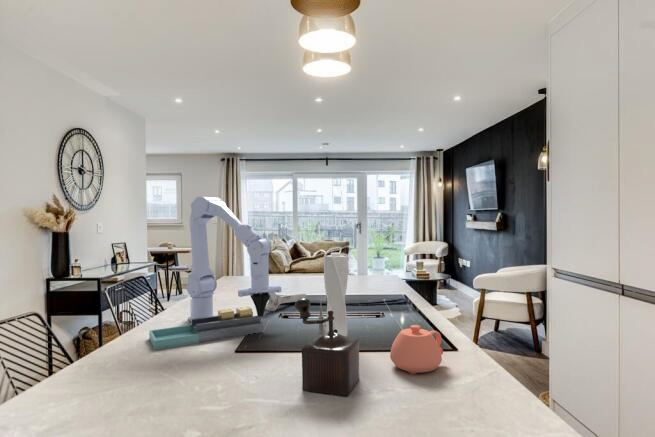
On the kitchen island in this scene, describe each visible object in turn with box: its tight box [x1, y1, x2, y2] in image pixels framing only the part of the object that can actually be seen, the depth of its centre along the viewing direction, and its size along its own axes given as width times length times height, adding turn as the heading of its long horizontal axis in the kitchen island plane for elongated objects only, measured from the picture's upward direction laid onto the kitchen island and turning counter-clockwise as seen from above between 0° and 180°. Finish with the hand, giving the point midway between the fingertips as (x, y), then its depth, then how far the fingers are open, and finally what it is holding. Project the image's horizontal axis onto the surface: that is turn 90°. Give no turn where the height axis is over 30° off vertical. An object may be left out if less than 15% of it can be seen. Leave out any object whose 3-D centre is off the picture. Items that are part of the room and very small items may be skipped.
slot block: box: [189, 311, 264, 344], centre depth 133 cm, size 12×20×5 cm, turn 120°
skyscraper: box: [317, 246, 349, 337], centre depth 123 cm, size 8×8×28 cm
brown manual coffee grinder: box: [294, 297, 360, 398], centre depth 93 cm, size 16×11×18 cm
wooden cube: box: [235, 306, 253, 319], centre depth 136 cm, size 4×4×4 cm
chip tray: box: [148, 324, 200, 351], centre depth 125 cm, size 12×12×2 cm
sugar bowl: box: [389, 324, 444, 375], centre depth 102 cm, size 12×14×10 cm
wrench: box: [265, 293, 307, 312], centre depth 170 cm, size 8×2×30 cm
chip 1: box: [217, 308, 235, 321], centre depth 133 cm, size 4×4×4 cm
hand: (260, 315), depth 139 cm, fingers closed
